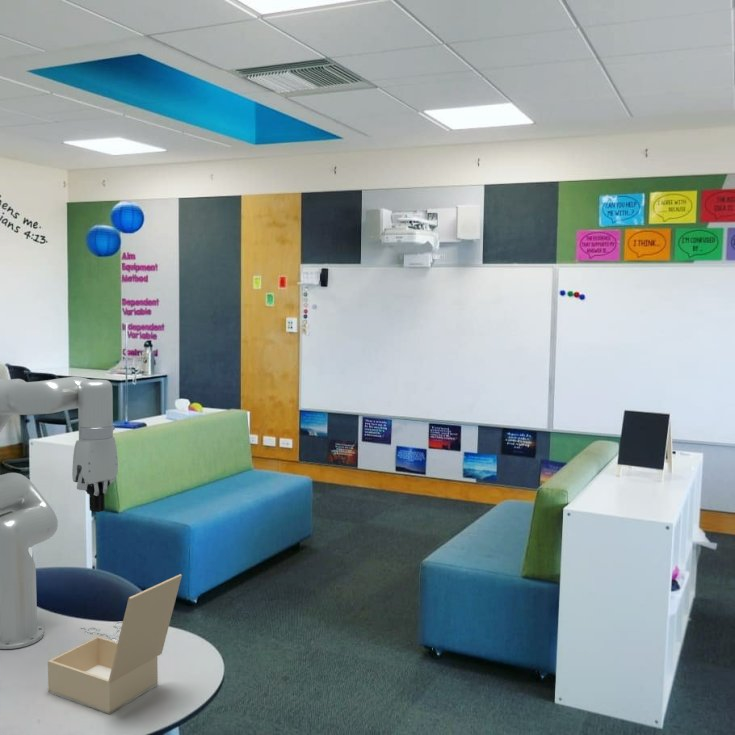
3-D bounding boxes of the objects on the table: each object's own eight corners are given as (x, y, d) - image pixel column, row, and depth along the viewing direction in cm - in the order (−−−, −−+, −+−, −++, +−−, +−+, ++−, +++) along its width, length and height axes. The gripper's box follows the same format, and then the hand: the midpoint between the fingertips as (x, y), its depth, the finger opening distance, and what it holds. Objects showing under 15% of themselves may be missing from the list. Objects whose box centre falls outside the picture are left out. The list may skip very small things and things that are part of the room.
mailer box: (48, 692, 168) (47, 661, 168) (98, 665, 181) (98, 636, 180) (109, 714, 160) (109, 681, 159) (157, 684, 172) (157, 654, 172)
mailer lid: (128, 597, 154) (130, 598, 154) (180, 574, 167) (181, 575, 167) (108, 681, 159) (110, 683, 158) (160, 652, 172) (161, 653, 172)
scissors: (122, 618, 206) (146, 647, 189) (122, 621, 206) (146, 650, 190) (80, 627, 200) (101, 657, 184) (80, 629, 200) (101, 660, 184)
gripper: (108, 426, 189) (109, 501, 191) (58, 436, 176) (59, 516, 178) (131, 430, 186) (132, 505, 187) (82, 440, 173) (83, 521, 174)
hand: (97, 510), depth 183 cm, fingers closed
